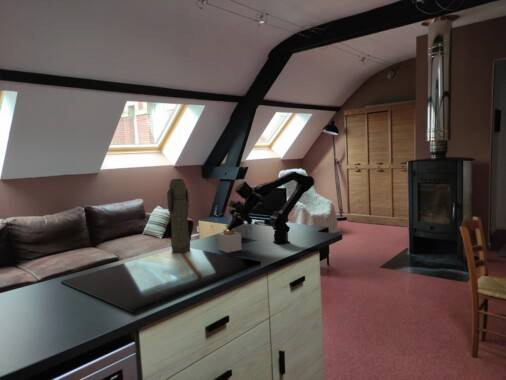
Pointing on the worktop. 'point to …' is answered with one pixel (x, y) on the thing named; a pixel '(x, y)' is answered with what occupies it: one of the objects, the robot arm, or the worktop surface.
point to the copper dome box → (229, 242)
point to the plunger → (228, 231)
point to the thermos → (179, 215)
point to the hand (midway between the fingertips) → (228, 229)
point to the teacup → (241, 229)
